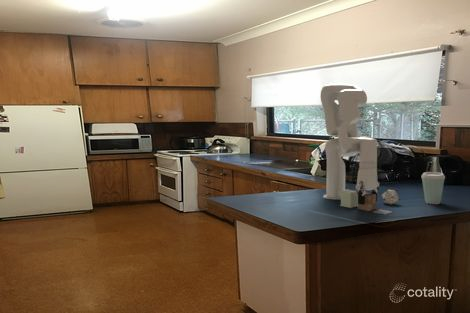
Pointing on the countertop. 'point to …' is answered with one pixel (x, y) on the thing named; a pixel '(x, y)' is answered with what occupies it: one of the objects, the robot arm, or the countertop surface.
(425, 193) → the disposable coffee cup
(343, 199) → the sage block
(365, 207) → the walnut block
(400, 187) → the countertop surface
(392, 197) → the cream knobbly ball
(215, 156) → the countertop surface
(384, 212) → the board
